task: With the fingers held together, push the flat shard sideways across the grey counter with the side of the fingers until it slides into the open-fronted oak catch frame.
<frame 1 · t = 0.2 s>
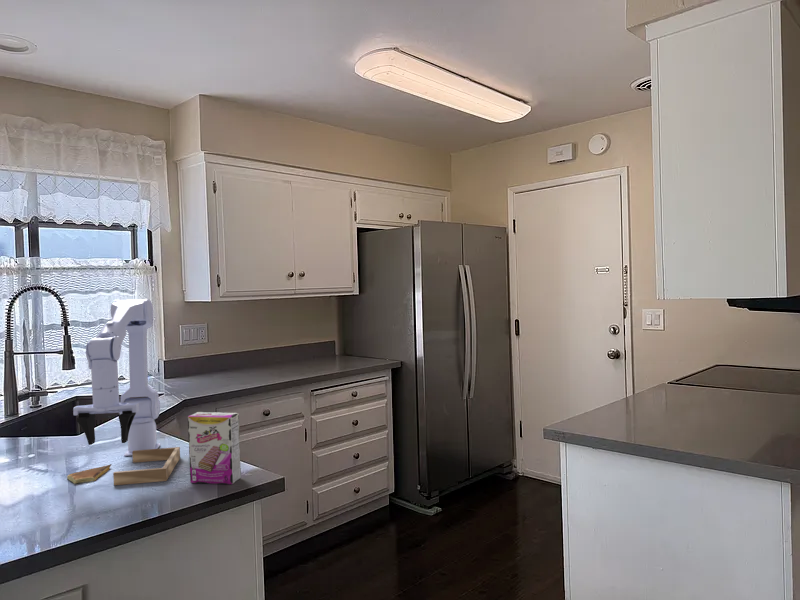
hand: (108, 442, 143), 10 cm above the table, tool pointing down, fingers open, 7 cm apart
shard: (86, 478, 150), on the table
catch frame: (149, 470, 153), on the table
candy bar box: (216, 481, 143), on the table
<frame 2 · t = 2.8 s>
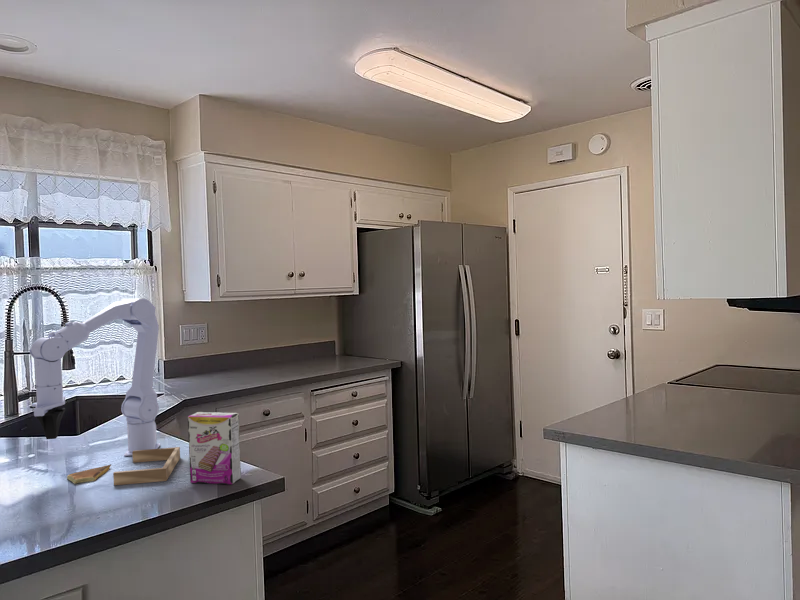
hand: (51, 438, 150), 10 cm above the table, tool pointing down, fingers closed
nothing on the table moved.
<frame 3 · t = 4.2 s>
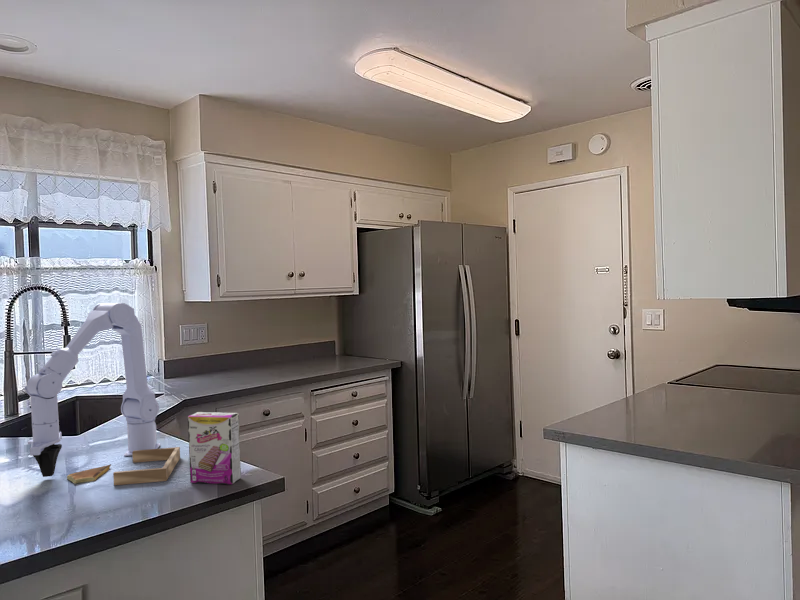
hand: (48, 475, 148), 1 cm above the table, tool pointing down, fingers closed
nothing on the table moved.
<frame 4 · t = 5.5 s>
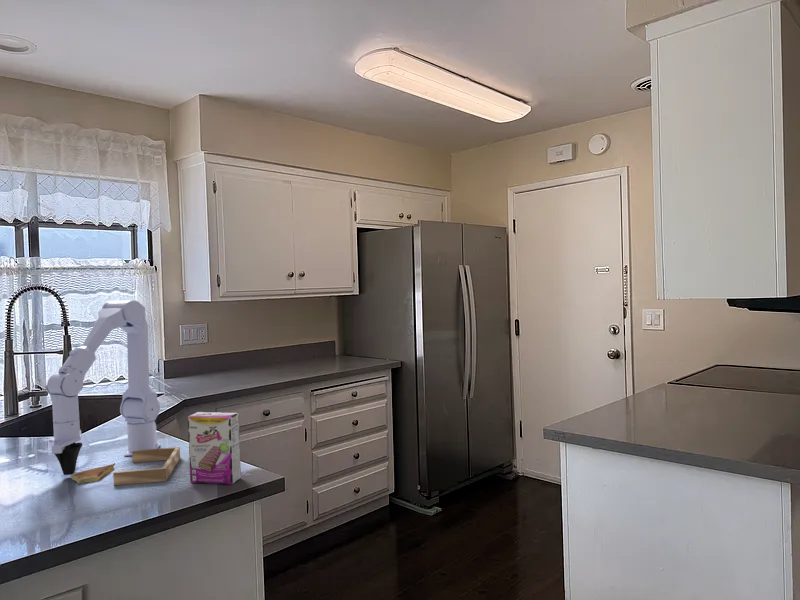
hand: (69, 473, 149), 1 cm above the table, tool pointing down, fingers closed
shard: (90, 478, 150), on the table
everything else where it was.
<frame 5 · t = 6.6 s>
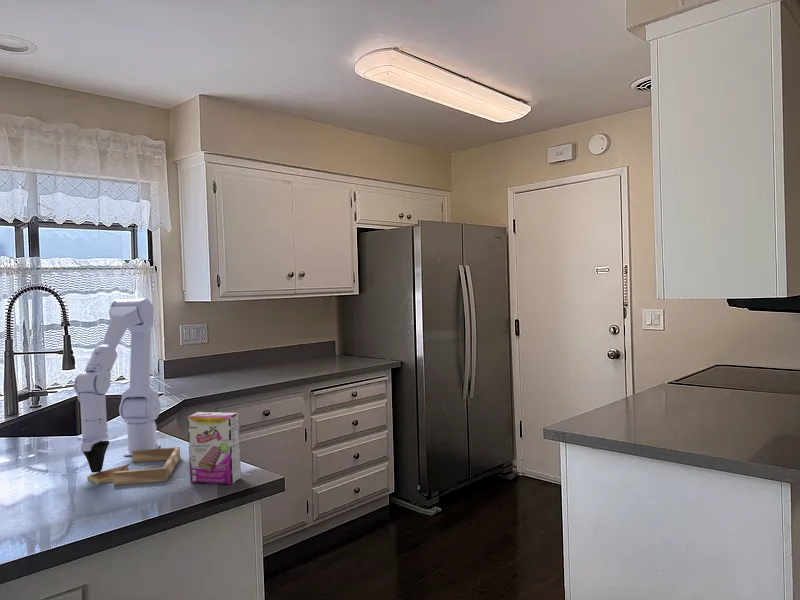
hand: (96, 471, 151), 1 cm above the table, tool pointing down, fingers closed
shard: (106, 479, 149), on the table, touching gripper
everything else where it was.
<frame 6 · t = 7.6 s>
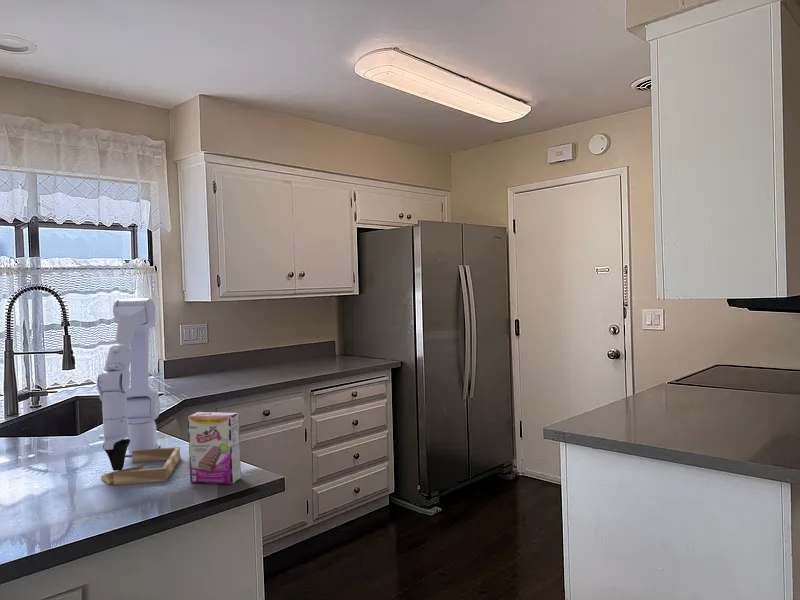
hand: (118, 469, 151), 1 cm above the table, tool pointing down, fingers closed
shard: (120, 479, 149), on the table, touching gripper
everything else where it was.
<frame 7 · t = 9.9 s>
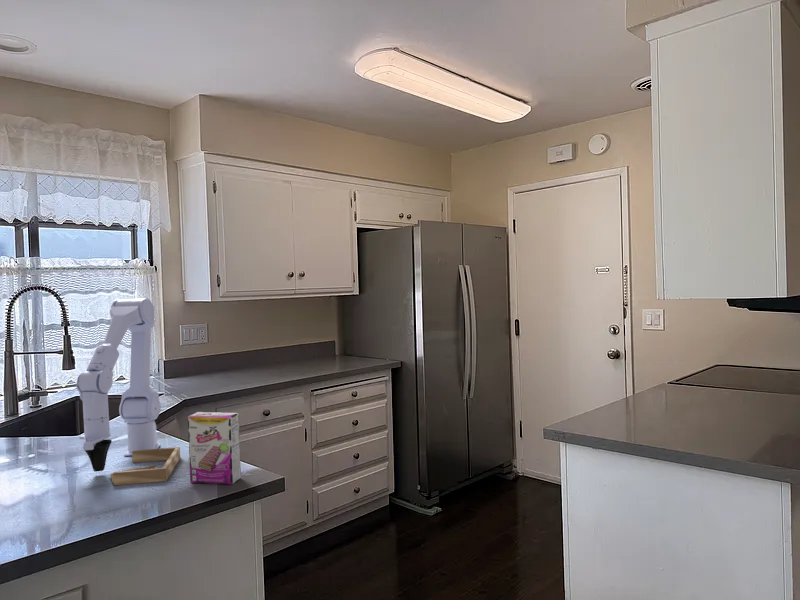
hand: (99, 470, 151), 1 cm above the table, tool pointing down, fingers closed
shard: (129, 478, 149), on the table
everything else where it was.
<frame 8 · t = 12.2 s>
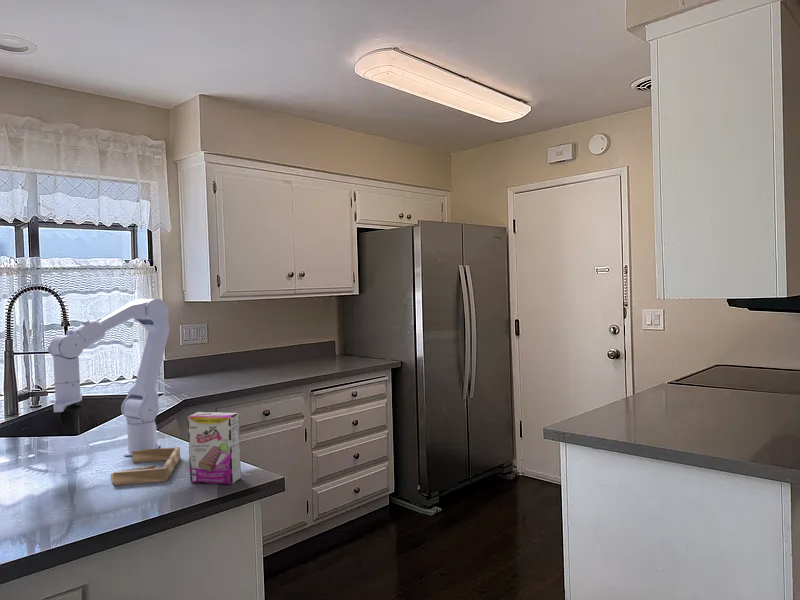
hand: (70, 433, 154), 10 cm above the table, tool pointing down, fingers closed
nothing on the table moved.
at the end: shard inside the target area (5.1 cm from its centre), on the table; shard moved 11.1 cm from its start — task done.
